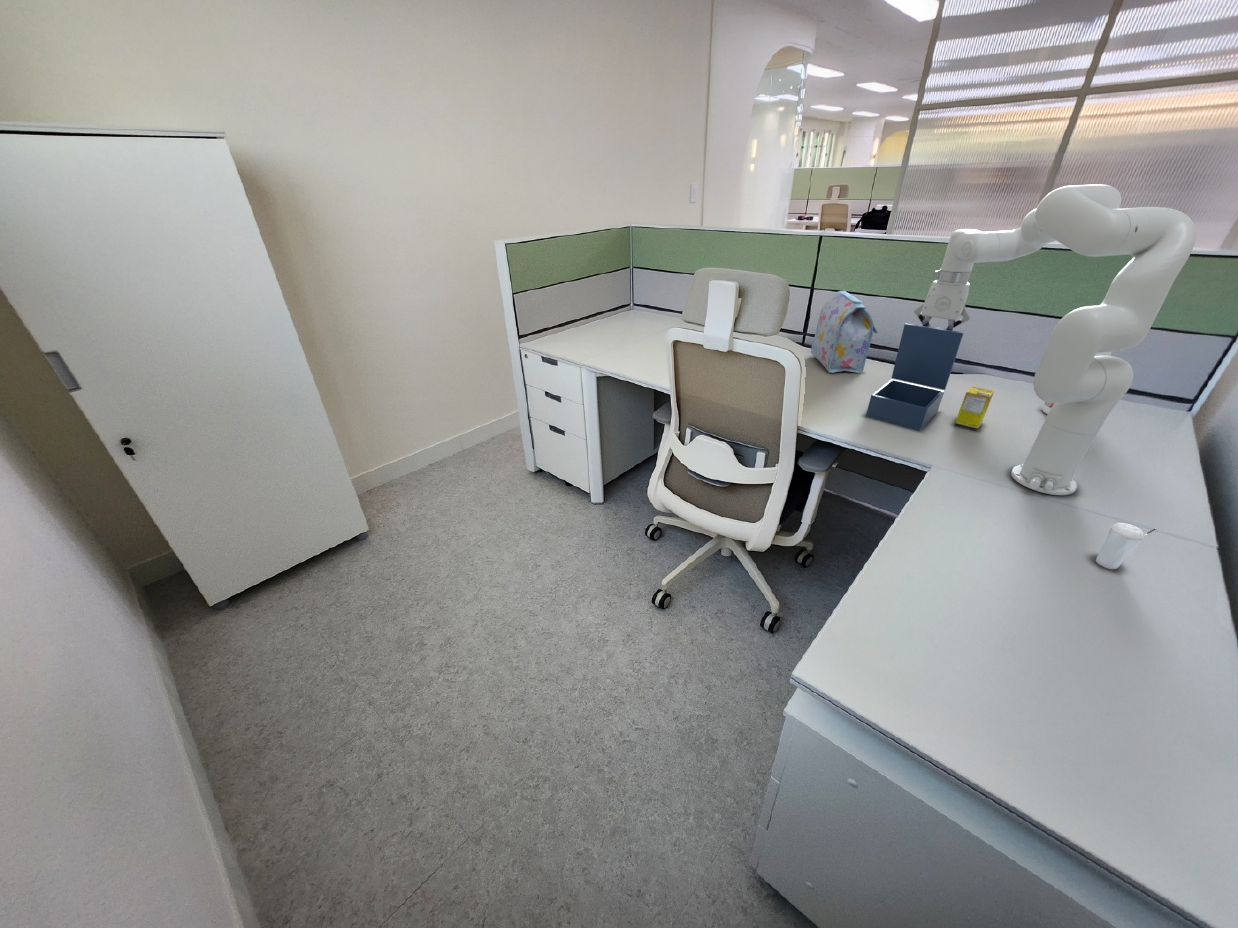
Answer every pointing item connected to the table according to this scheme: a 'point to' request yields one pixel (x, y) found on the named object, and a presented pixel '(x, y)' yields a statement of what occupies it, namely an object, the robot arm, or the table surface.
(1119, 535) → the milkshake
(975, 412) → the supplement box
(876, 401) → the box
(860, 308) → the lunch bag
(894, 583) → the table surface
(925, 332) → the lunchbox lid
